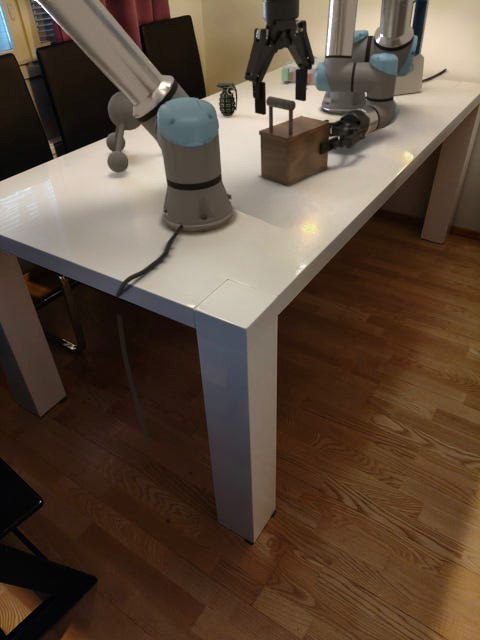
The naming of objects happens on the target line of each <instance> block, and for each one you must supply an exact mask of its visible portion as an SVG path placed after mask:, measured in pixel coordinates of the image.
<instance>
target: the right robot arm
mask: <svg viewBox="0 0 480 640" xmlns="http://www.w3.org/2000/svg"><path fill="white" fill-rule="evenodd" d="M328 1H329V2H328V14H327V24H326V26H327V27H326V37H325V51H324V58H325V60H324V62H320V63H318V64H317V67H316V73H315V84H314V85H315V88H316V90H317V91H319V92H325V93H324V96H323V98H322V102H321V111H322V112H324V113H326V114H330V115H339V116H341V117H340V119H339V120H335V121H333V122H332V121H331V122H330V120H329V119H324V120H323V121H327V122H330V130H329V140H326V141H324V142H321V143H320V151H319V154H321V155H322V154H324V153H327V152H328V153H329V152H331V151H334V150H337V149H338V148H340V149H342V148H344V147H345V148H346V149H348V150H349V149H351V148H352V147H354V146H355V145H356V144H357V143H360V141H363V140H365V139H366V137H367V135H369V134H372V133H375V132H377V131H379V130H383V129H385V128H387V127H389V126H390V125H392V124H393V123H394V122H395V121H396V120H397V118H398V116H399V113H400V111H399V108H398V103H397V102H396V101H395V98H394V96H395V95H394V91H395V84H396V77H403V76H406V75H407V74H408V73H409V71H410V68H411V65H412V62H413V58H414V54H415V50H416V46H417V40H418V37H417V36H416V35H413V34H414V31H413V28H412V25H411V26H410V18H411V10H412V2H413V0H381V5H380V7H381V8H380V21H379V26H378V27H377V28H376V29H375V31H374V33H373V35H370V34H369V31H368V30H367V29H357V30H356V24H357V13H358V6H359V5H358V4H359V0H328ZM446 71H448V70H447V68H444V69H443V70H441V71H440V72H438V73H436V74H433V75H432V76H429V77H426V78H423V79H422V83H423V82H427V81H429V80H432V79H434V78H437V77H438V76H440V75H442V74H443V73H445V72H446Z"/></svg>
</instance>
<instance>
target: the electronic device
mask: <svg viewBox="0 0 480 640" xmlns="http://www.w3.org/2000/svg"><path fill="white" fill-rule="evenodd" d="M414 4H415V5H414ZM429 5H430V0H413V2H412V10H411V18H410V26H411V27H412V28H413V31H414V34H413V35H416V36H417V37H418V40H417V46H416V50H415V54H414V58H413V62H412V65H411V68H410V71H409V73H408V74H407V75H406V76H403V77H396V84H395V91H394V96H398V95H405V94H413V93H414V94H415V93H419V92H420V91H421V90H422V88H423V82H422V80H423V79H424V77H423V76H424V65H425V57H424V55H423V54H422V49H423V42H424V36H425V29H426V24H427V18H428V17H427V16H428V11H429ZM412 18H413V19H412Z"/></svg>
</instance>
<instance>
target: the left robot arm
mask: <svg viewBox="0 0 480 640" xmlns="http://www.w3.org/2000/svg"><path fill="white" fill-rule="evenodd" d="M34 1H36V2H37V3H38V4H39V5H41V7H42V8H43V9H44V10H45V12H47V14H49V16H50V17H51V18H52V19H53V21H55V22H56V23H57V24H58V25H59V26H60V28H61V29H62V30H63V31H64V32H65V33H66V34H67V36H69V37H70V38H71V40H73V42H74V43H75V44H76V45H77V46H78V47H79V48H80V50H82V52H83V53H84V54H85V55H86V56H87V57H88V58H89V59H90V60H91V61H92V62H93V63H94V65H96V67H97V68H98V69H99V70H100V71H101V72H102V74H104V76H105V77H107V79H109V81H110V82H112V84H113V85H114V86H115V87H116V88H117V89H118V91H119V92H120V91H121V92H122V94H123V95H124V96H125V97H126V98H127V99H128V100H129V101H130V102H131V103H132V105H133V116H134V117H135V118H136V119H137V120H138V121H139V122H140V123H141V125H140V126H142V127H143V128H144V129H145V131H147V132H148V133H149V135H150V136H151V137H152V138H153V139H154V140H155V141H156V143H157V145H158V146H159V148H160V150H161V154H162V159H163V168H164V174H165V180H166V190H165V191H166V192H165V196H164V203H163V207H162V218H163V222H164V224H165V226H167V227H168V228H169V229H171V230H173V231H174V232H173V234H171V237H170V238H169V240H167V242H166V245H165V248H164V250H163V252H162V253H161V255H160V256H159V257H157V258H156V259H155V260H154V261H153V262H151V263H150V264H149V265H147V266H146V267H144V268H143V269H142V270H140V271H138V272H135V273H132V274H131V275H129V276H127V277H126V278H125V279H124V280H123V281H122V282H121V283H120V285H119V287H118V289H117V291H116V294H115V297H116V298H120V297H121V296H122V293H123V291H124V289H125V287H126V286H127V285H128V284H129V283H130V282H132V281H133V280H135V279H137V278H140V277H142V276H144V275H145V274H147V273H148V272H150V271H151V270H152V269H153V268H155V267H156V266H157V265H158V264H160V263H161V262H162V261H163V260H164V259H165V257H166V256H167V255H168V253H169V251H170V249H171V246H172V244H173V242H175V241H174V240H175V239H176V238H177V237H178V235H179V234H180V233H190V234H191V233H192V234H193V233H194V234H195V233H196V234H197V233H205V232H206V233H207V232H210V231H215V230H216V229H220V228H222V227H224V226H226V225H227V224H228V223H230V221H231V220H232V218H233V216H234V212H233V211H234V210H233V205H232V201H231V200H233V199H232V198H233V197H232V194H229V193H228V192H227V190H226V187H225V184H224V182H223V175H222V174H223V173H222V161H221V159H222V158H221V147H220V146H221V145H220V133H219V131H220V130H219V129H220V124H219V123H220V122H219V118H218V114H217V110H216V108H215V106H214V105H213V104H212V103H211V102H210V101H208V100H205V99H199V97H190V96H189V95H188V93H187V92H186V91H185V90H184V89H183V88H182V86H181V85H180V83H178V81H177V80H176V78H174V76H172V75H166V74H162V73H161V72H160V71H159V70H158V69H157V67H156V66H155V65H154V64H153V63H152V62H151V61H150V59H149V58H148V57H147V56H146V54H145V53H144V52H143V51H142V50H141V48H140V47H139V46H138V45H137V44H136V43H135V41H134V40H133V39H132V37H131V36H130V35H129V34H128V33H127V32H126V30H125V29H124V28H123V27H122V25H121V24H120V23H119V22H118V21H117V20H116V18H115V17H114V16H113V15H112V13H110V11H109V9H107V8H106V7H105V6H104V4H103V3H102V2H101V0H34ZM299 16H300V0H262V19H263V20H264V21H265V28H261V27H260V28H259V27H255V28H254V31H253V43H252V46H251V50H250V54H249V58H248V62H247V65H246V68H245V69H246V70H245V73H244V80H245V81H247V82H251V84H252V85H251V86H252V97H253V99H254V113H255V114H259V115H262V116H264V115H267V104H266V100H267V98H266V97H267V95H266V93H267V92H266V91H267V90H266V82H265V81H264V79H265V76H266V74H267V72H268V69H269V67H270V65H271V63H272V60H273V59H274V56H275V54H277V53H278V51H280V50H283V49H287V50H288V51H289V53H290V55H291V57H292V59H293V61H294V62H296V64H297V66H298V67H299V68H300V69H296V82H295V88H294V89H295V92H294V99H295V100H296V101H300V102H306V101H307V85H308V83H307V81H308V70H311V69H312V65H314V63H315V60H314V56H315V55H314V54H313V49H312V45H311V42H310V38H309V35H308V29H307V27H308V26H307V25H308V24H307V20H303V19H298V18H299ZM295 100H294V101H295ZM122 317H123V316H122V314H118V313H116V319H117V326H118V335H119V342H120V347H121V348H120V349H121V353H122V359H123V363H124V367H125V368H124V369H125V373H126V376H127V380H128V384H129V387H130V391H131V394H132V398H133V401H134V405H135V409H136V413H137V416H138V419H139V423H140V426H141V430H142V433H143V437H144V442H145V446H146V448H147V449H150V448H151V442H150V438H149V434H148V431H147V427H146V422H145V419H144V415H143V412H142V409H141V405H140V402H139V398H138V394H137V391H136V386H135V383H134V380H133V376H132V370H131V366H130V361H129V357H128V353H127V346H126V340H125V339H126V338H125V333H124V325H123V318H122Z"/></svg>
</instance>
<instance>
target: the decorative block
mask: <svg viewBox="0 0 480 640" xmlns="http://www.w3.org/2000/svg"><path fill="white" fill-rule="evenodd" d="M313 56H314V60H315V63H314V65H312V69H311V70H308V81H307V84H310V85H315V73H316V67H317V64H318V63H320V62H324V60H325V57H322V56H315V55H313ZM296 69H300V68H299V67H298V66H297V64H296V62H295V61H287V62H286V65H283V67H281V81H282V82H283V81H284V82H292V83H296Z"/></svg>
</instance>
